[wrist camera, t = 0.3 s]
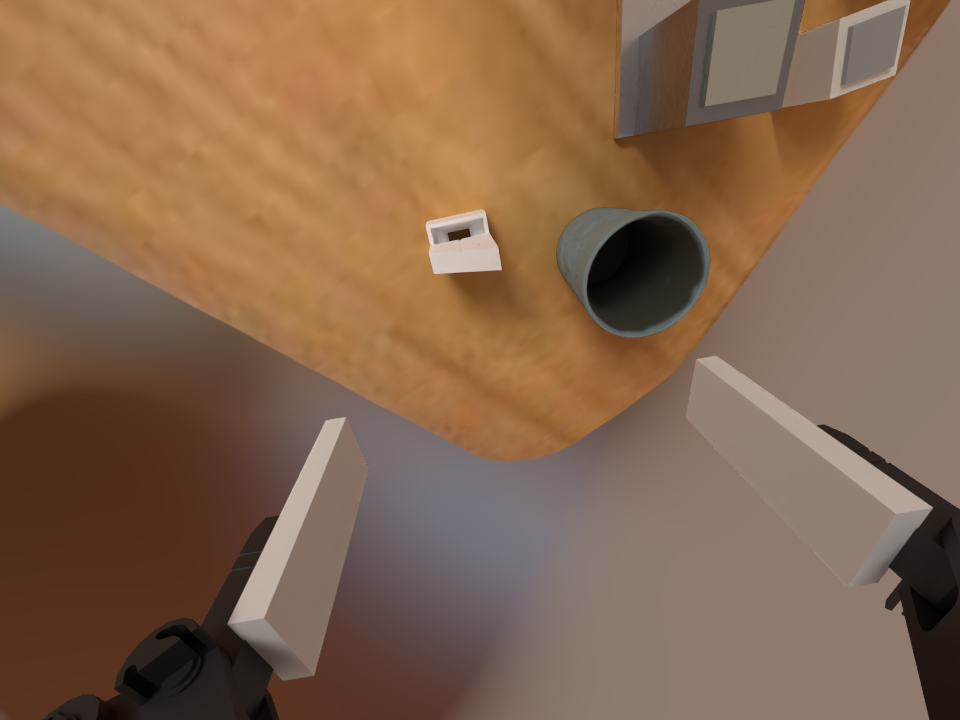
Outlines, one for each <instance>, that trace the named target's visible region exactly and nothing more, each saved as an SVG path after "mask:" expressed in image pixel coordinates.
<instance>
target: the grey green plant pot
mask: <svg viewBox="0 0 960 720" xmlns="http://www.w3.org/2000/svg"><path fill="white" fill-rule="evenodd" d="M557 263H558V267H559V269H560V272H561V274H562V275H563V277H564V278H565V279H566V280H567V282H568V283H569V285H570V286H571V288H572V290H573V291H574V292H575V294H576V295H577V297H578V299H579V300H580V301H581V303H582V304H583V306H584V307H585V309H586V311H587V312H588V314H589V315H590V317H591V318H592V319H593V320H594V321H595V322H596V323H597V324H598V325H599V326H600V327H601V328H602V329H604V330H606V331H608V332H610V333H611V334H614V335H617V336H620V337H627V338H639V337H646V336H649V335H653V334H656V333H658V332H660V331H663V330H665V329H667V328H668V327H670V326H671V325H673V324H675V323H676V322H677V321H678V320H680V319H681V318H682V317H683V316H684V315H686V314H687V313H688V311H689V310H690V309H691V308H692V307H693V305H694V304H695V303H696V302H697V300H698V298H699V297H700V295H701V293H702V291H703V289H704V287H705V285H706V282H707V278H708V275H709V268H710V253H709V246H708V243H707V241H706V238H705V236H704V235H703V233H702V232H701V230H700V229H699V227H698V226H697V225H696V224H695V223H694V222H693V221H692V220H690V219H689V218H687V217H685V216H683V215H680V214H678V213H674V212H670V211H663V210H643V211H633V210H630V209H616V208H595V209H591V210H588V211H586V212H584V213H582V214H581V215H579V216H578V217H576V218H575V219H574V220H572V222H571V223H570V224H569V225H568V226H567V227H566V229H565V230H564V232H563V233H562V235H561V237H560V240H559V243H558V247H557Z"/></svg>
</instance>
